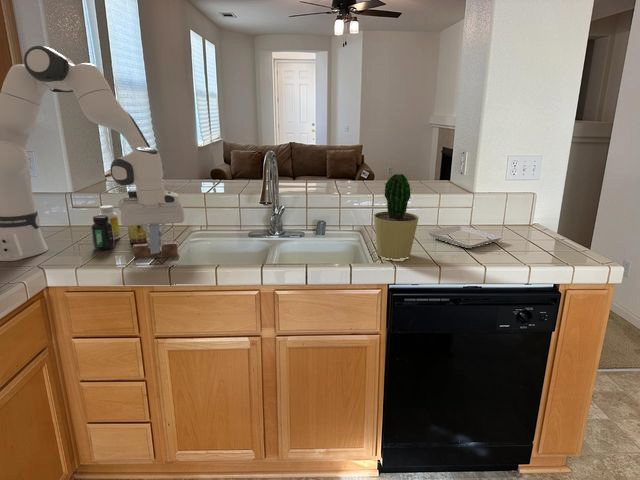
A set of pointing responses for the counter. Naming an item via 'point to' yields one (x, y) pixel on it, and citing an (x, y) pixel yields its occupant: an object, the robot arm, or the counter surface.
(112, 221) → the supplement bottle
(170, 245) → the notched block
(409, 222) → the potted cactus
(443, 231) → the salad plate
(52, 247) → the counter surface
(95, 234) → the supplement bottle
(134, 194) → the sauce bottle
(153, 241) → the blue gray rectangular block
